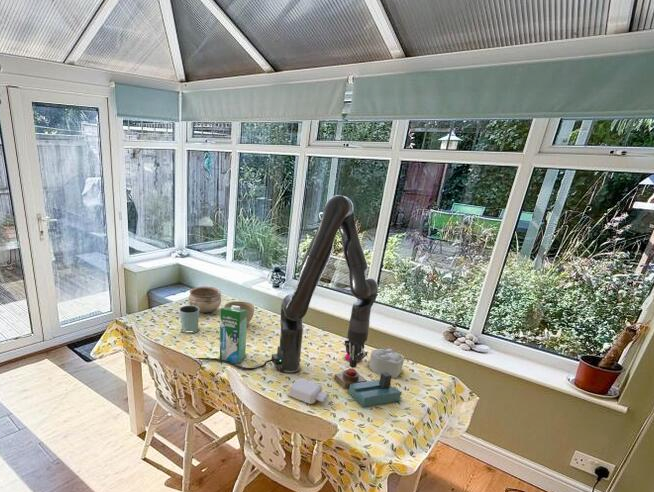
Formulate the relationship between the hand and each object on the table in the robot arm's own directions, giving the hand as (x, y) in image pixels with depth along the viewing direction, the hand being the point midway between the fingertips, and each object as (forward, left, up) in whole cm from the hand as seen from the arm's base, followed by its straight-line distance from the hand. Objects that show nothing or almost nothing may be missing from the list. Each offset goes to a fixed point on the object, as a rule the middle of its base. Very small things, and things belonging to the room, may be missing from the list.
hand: (352, 366), depth 167 cm
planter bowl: (-27, +66, -7) cm, 72 cm away
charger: (-21, -7, -7) cm, 24 cm away
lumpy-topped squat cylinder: (+20, +5, -7) cm, 22 cm away
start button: (0, 0, -3) cm, 3 cm away
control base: (+3, -12, -7) cm, 14 cm away
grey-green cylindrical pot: (-54, +66, -7) cm, 86 cm away
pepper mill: (+12, +17, -7) cm, 22 cm away
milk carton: (-41, +32, -7) cm, 53 cm away
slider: (+7, -12, -4) cm, 14 cm away
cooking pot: (-40, +90, -7) cm, 99 cm away
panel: (0, 0, -7) cm, 7 cm away
